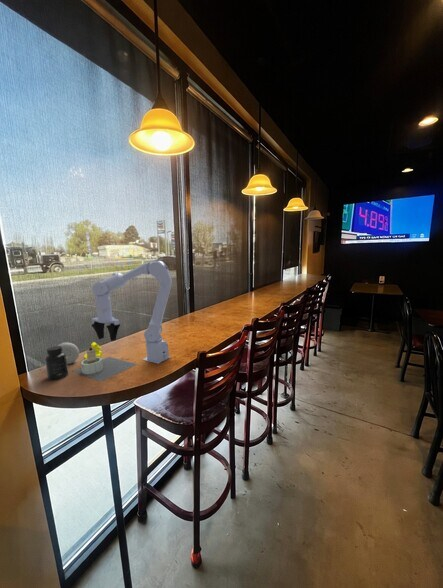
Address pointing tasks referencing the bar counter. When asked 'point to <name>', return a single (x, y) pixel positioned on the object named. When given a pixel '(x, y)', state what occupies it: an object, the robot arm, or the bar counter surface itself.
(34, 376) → the bar counter surface
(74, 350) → the grey round disc
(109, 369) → the mat
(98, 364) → the jar
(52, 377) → the supplement bottle
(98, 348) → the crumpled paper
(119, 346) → the bar counter surface
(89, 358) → the peg
